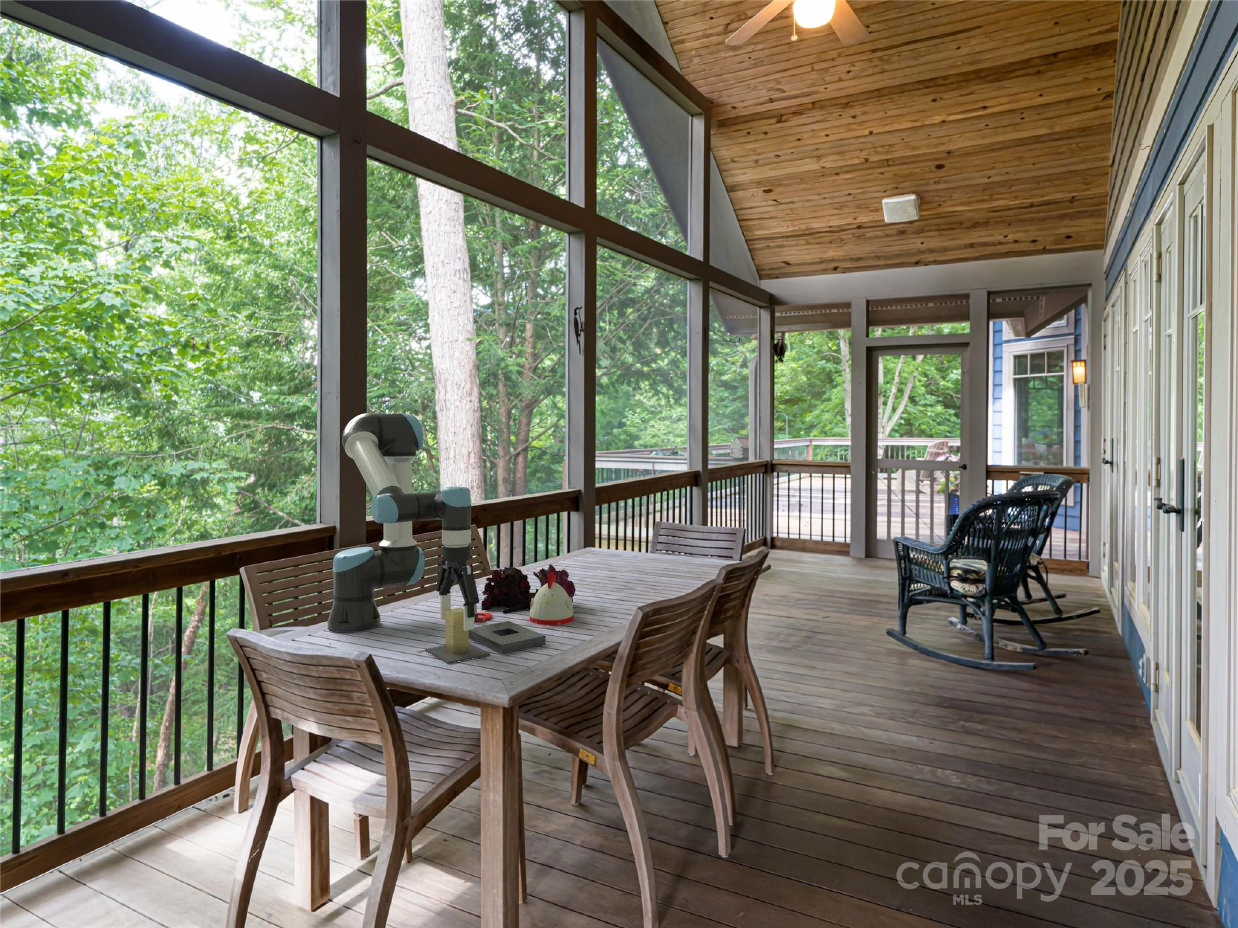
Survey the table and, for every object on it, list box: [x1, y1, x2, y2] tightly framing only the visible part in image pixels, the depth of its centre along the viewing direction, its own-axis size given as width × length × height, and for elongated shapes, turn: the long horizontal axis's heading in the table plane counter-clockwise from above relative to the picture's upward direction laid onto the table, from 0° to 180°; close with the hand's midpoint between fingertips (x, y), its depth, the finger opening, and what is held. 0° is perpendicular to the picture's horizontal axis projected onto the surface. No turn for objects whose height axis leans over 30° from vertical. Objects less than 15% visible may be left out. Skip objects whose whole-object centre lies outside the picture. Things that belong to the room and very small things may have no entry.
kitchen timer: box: [529, 572, 575, 626], centre depth 229 cm, size 14×14×15 cm
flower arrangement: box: [480, 564, 576, 614], centre depth 245 cm, size 31×20×15 cm, turn 89°
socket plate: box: [469, 620, 547, 655], centre depth 205 cm, size 20×14×2 cm
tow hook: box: [474, 579, 493, 623], centre depth 230 cm, size 8×13×9 cm
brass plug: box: [444, 607, 470, 655], centre depth 193 cm, size 4×4×11 cm
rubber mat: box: [424, 642, 491, 665], centre depth 194 cm, size 14×12×1 cm
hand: (457, 624), depth 193 cm, fingers open, 13 cm apart
